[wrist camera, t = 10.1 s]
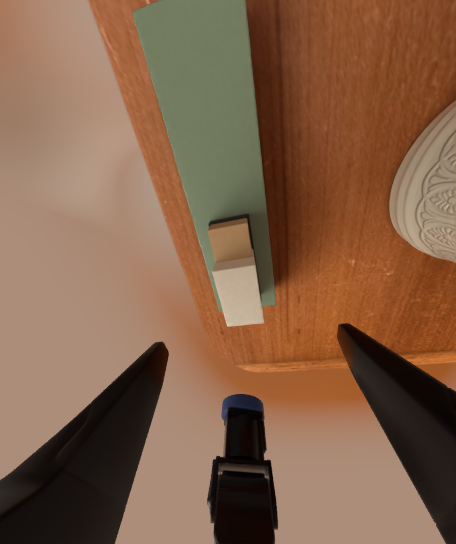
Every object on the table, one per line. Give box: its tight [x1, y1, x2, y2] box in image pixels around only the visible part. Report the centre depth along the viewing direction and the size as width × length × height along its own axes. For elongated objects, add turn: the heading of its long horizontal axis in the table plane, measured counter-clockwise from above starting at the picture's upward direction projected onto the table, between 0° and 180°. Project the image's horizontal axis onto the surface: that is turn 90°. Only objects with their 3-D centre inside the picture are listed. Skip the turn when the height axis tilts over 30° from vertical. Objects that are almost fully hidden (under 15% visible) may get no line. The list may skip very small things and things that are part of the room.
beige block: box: [208, 214, 264, 327], centre depth 14 cm, size 8×3×4 cm, turn 12°
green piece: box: [132, 0, 276, 312], centre depth 15 cm, size 6×21×3 cm, turn 12°
